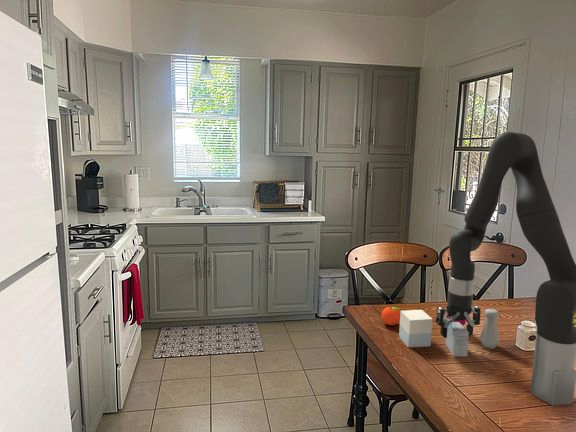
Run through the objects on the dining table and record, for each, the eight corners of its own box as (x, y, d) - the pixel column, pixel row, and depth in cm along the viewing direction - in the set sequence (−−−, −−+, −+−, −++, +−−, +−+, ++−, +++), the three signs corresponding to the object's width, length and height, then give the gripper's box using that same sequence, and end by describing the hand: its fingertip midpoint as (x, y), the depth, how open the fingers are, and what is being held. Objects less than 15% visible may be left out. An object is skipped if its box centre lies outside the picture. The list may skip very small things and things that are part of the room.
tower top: (431, 332, 138) (432, 319, 137) (409, 334, 137) (410, 320, 136) (420, 322, 146) (421, 309, 145) (399, 324, 144) (400, 310, 144)
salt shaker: (500, 350, 135) (504, 314, 133) (482, 349, 136) (485, 312, 134) (495, 342, 141) (498, 307, 139) (477, 341, 142) (480, 306, 140)
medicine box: (467, 357, 131) (469, 332, 130) (453, 356, 131) (455, 332, 130) (457, 345, 139) (459, 321, 138) (444, 345, 139) (446, 321, 138)
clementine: (399, 320, 159) (400, 303, 158) (404, 328, 152) (405, 310, 151) (379, 320, 159) (379, 303, 157) (383, 328, 152) (384, 310, 151)
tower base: (430, 346, 138) (431, 332, 138) (408, 347, 138) (408, 334, 137) (420, 335, 146) (421, 322, 145) (399, 336, 145) (399, 323, 145)
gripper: (445, 295, 128) (441, 342, 131) (488, 294, 129) (482, 341, 132) (434, 287, 135) (430, 332, 138) (474, 285, 136) (470, 330, 139)
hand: (456, 336), depth 135 cm, fingers open, 8 cm apart
